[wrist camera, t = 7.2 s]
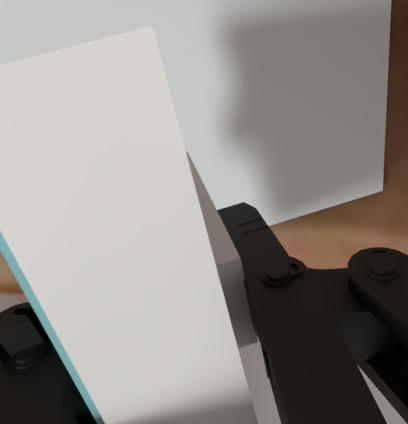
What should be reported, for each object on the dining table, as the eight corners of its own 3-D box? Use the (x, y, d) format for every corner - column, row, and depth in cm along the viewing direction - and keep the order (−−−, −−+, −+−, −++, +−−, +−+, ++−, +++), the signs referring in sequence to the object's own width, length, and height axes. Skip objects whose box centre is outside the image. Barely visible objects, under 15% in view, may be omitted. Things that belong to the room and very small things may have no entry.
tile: (56, 57, 12) (-101, 90, 3) (133, 37, 12) (151, 24, 4) (164, 341, 17) (201, 619, 9) (216, 325, 17) (299, 582, 9)
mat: (-69, 6, 15) (-75, 6, 15) (387, -106, 17) (396, -109, 16) (75, 279, 23) (74, 285, 23) (377, 186, 25) (382, 190, 24)
